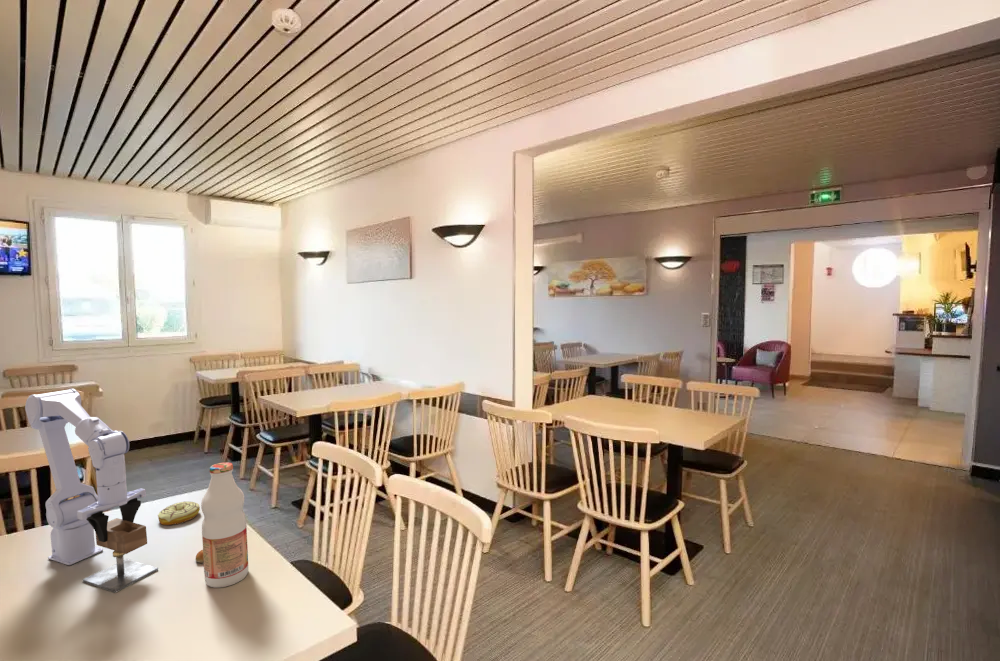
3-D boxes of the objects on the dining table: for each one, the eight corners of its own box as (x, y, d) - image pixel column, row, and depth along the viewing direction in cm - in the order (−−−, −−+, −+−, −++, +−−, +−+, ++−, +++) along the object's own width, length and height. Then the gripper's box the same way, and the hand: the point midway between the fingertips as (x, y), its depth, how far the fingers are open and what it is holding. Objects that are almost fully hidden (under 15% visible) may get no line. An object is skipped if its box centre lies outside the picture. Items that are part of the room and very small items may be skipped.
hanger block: (96, 545, 123) (94, 527, 123) (118, 535, 128) (116, 518, 127) (126, 554, 119) (124, 535, 119) (147, 543, 124) (145, 526, 123)
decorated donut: (151, 521, 152) (151, 509, 152) (189, 508, 161) (188, 496, 161) (168, 529, 147) (167, 517, 146) (206, 515, 156) (205, 504, 155)
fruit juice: (195, 585, 118) (188, 470, 116) (226, 564, 127) (220, 457, 125) (228, 591, 116) (222, 474, 114) (257, 569, 125) (252, 460, 123)
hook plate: (82, 581, 120) (80, 556, 120) (126, 560, 129) (125, 537, 129) (114, 592, 116) (112, 566, 115) (158, 570, 125) (156, 545, 125)
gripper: (88, 496, 115) (93, 552, 116) (152, 474, 128) (155, 525, 129) (69, 491, 117) (74, 547, 118) (134, 470, 131) (137, 520, 132)
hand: (115, 535), depth 124 cm, fingers closed on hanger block, 5 cm apart
